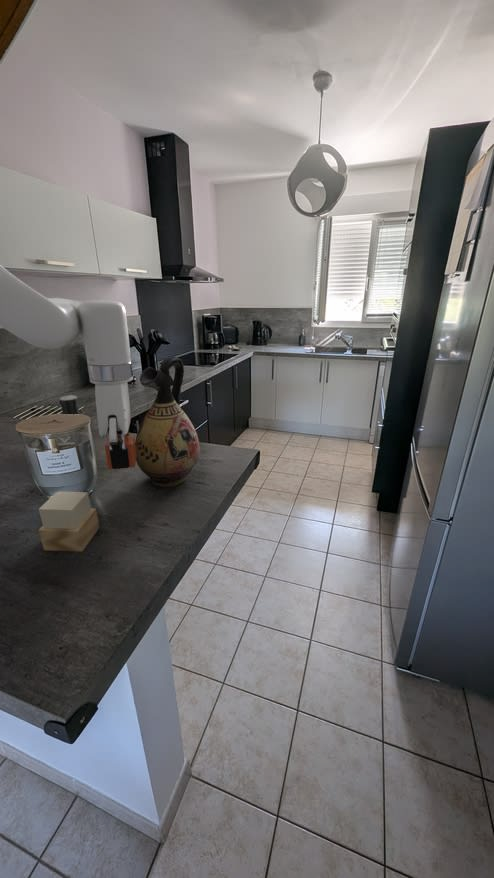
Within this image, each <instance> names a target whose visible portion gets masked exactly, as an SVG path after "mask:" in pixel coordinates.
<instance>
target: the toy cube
mask: <svg viewBox="0 0 494 878" xmlns="http://www.w3.org/2000/svg"><path fill="white" fill-rule="evenodd" d="M118 440H120V441H121V437H118ZM135 441H136V437H135V434H129V435H125V445H126V448H127V449H128V457H129V468H135V466H136V464H137V461H136V457H137V455H136V447H135ZM104 449H105V458H106V463H107V469H108V470H114V469H113V468H112V464H111V457H110V447H109V436H108V437H107V440H106V442H105V444H104ZM129 468H128V469H129Z"/></svg>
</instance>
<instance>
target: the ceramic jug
mask: <svg viewBox="0 0 494 878" xmlns="http://www.w3.org/2000/svg"><path fill="white" fill-rule="evenodd" d="M172 367H174V377H172V376H171V374H170V369H171V368H172ZM184 373H185V367H184V362H183V360H182V359H181V358H179V357H178V356H170V357H165V358H164V359H163V360H162V361H161V363H160V368H159V369H158V370H157V369H155V368H153V367H151V366H148V367H145V369H143V371H142V372H141V373H140V375H139V382H140V384H141V385H142V386H143V387H147V388H150V389H154V390H156V391H157V394H156V398H155V399H154V401H153V403H152V405H151V406H150V408H149V409H148V411H147V412H146V414H145V415H144V418H143V420H142V421H141V424H140V425H139V427H138V429H137V430H138V431H137V433H136V437H135V447H136V455H137V457H136V464H137V466H138V468H139V469H140V470H141V471H142V472H141V473H144V474H145V476H147V477H148V478H149V481H150V483H151V484H152V486H154V487H163V488H169V487H175V486H178V485H180V484H182V483H184V482H185V481H186V480H187V479H188V476H189V474H190V473H191V471H192V470H193V469H194V467H195V466H196V465H197V463H198V460H199V457H200V453H201V452H200V449H201V448H200V440H199V437H198V433H197V431H196V429H195V427H194V425H193V423H192V421H191V420H190V418H189V416H188V415H187V413H185V411H184V410H183V409H182V408H181V406H180V404H181V403H180V401H181V399H180V397H181V391H182V386H183V382H184V375H185V374H184Z"/></svg>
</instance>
